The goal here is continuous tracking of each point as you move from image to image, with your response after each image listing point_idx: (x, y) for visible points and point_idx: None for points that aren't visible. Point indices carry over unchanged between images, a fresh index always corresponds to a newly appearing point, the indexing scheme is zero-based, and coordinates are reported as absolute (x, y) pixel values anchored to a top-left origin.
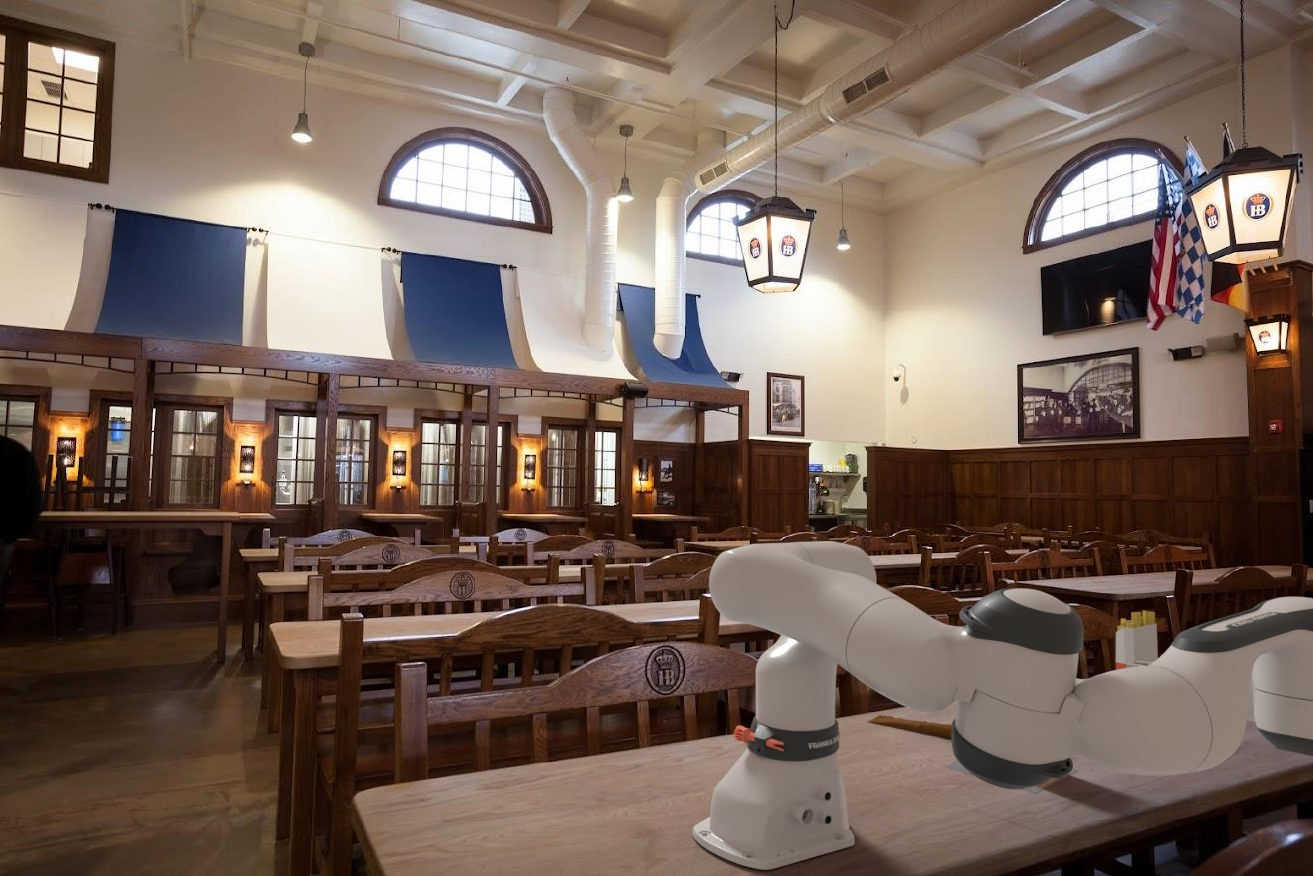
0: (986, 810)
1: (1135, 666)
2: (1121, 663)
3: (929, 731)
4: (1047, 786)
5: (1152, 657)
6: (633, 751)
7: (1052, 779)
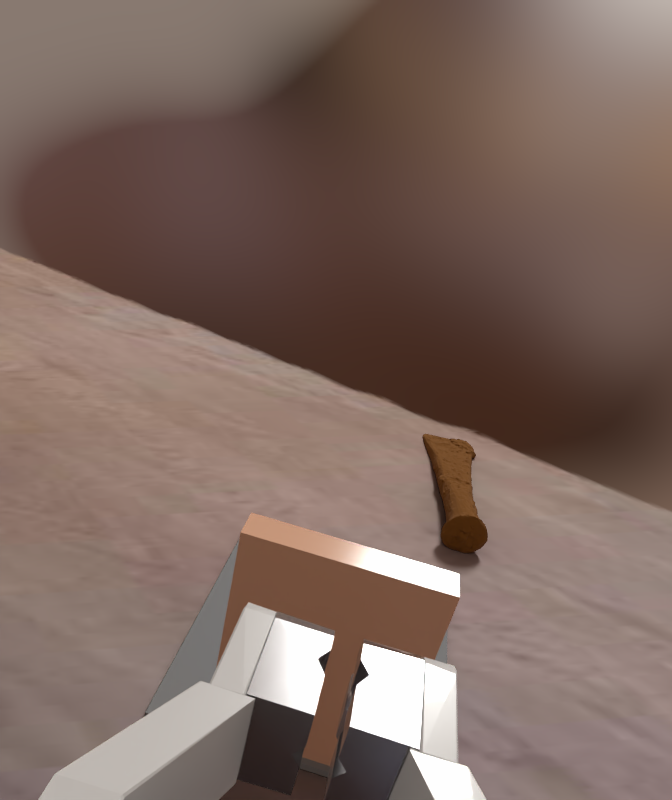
0: None
1: (219, 661)
2: None
3: (442, 497)
4: None
5: None
6: (102, 291)
7: None
